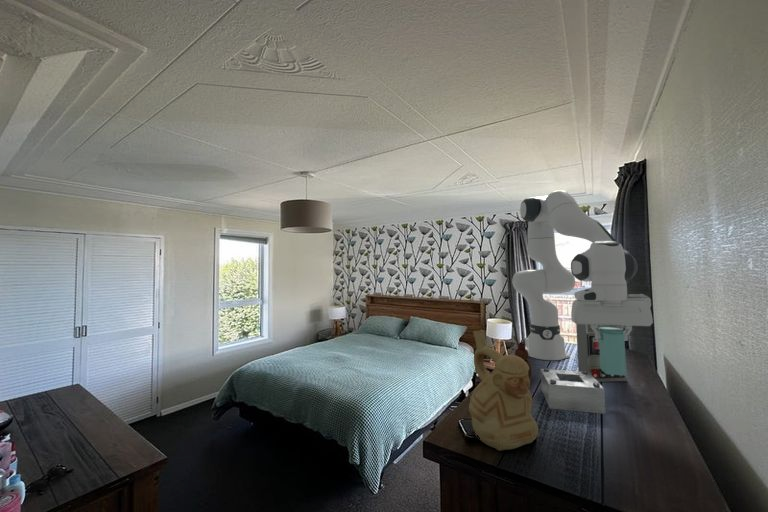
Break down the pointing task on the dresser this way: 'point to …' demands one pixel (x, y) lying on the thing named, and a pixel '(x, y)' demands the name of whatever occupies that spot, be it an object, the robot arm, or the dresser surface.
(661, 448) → the dresser surface
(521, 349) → the wooden figurine
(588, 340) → the cassette tape recorder
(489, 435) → the ceramic vessel
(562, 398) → the housing
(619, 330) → the cover plug
